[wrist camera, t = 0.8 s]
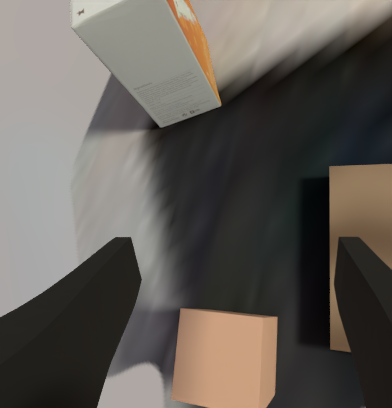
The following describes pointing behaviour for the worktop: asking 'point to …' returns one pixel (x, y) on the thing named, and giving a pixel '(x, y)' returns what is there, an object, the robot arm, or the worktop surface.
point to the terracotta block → (225, 359)
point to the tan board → (358, 223)
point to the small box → (151, 53)
